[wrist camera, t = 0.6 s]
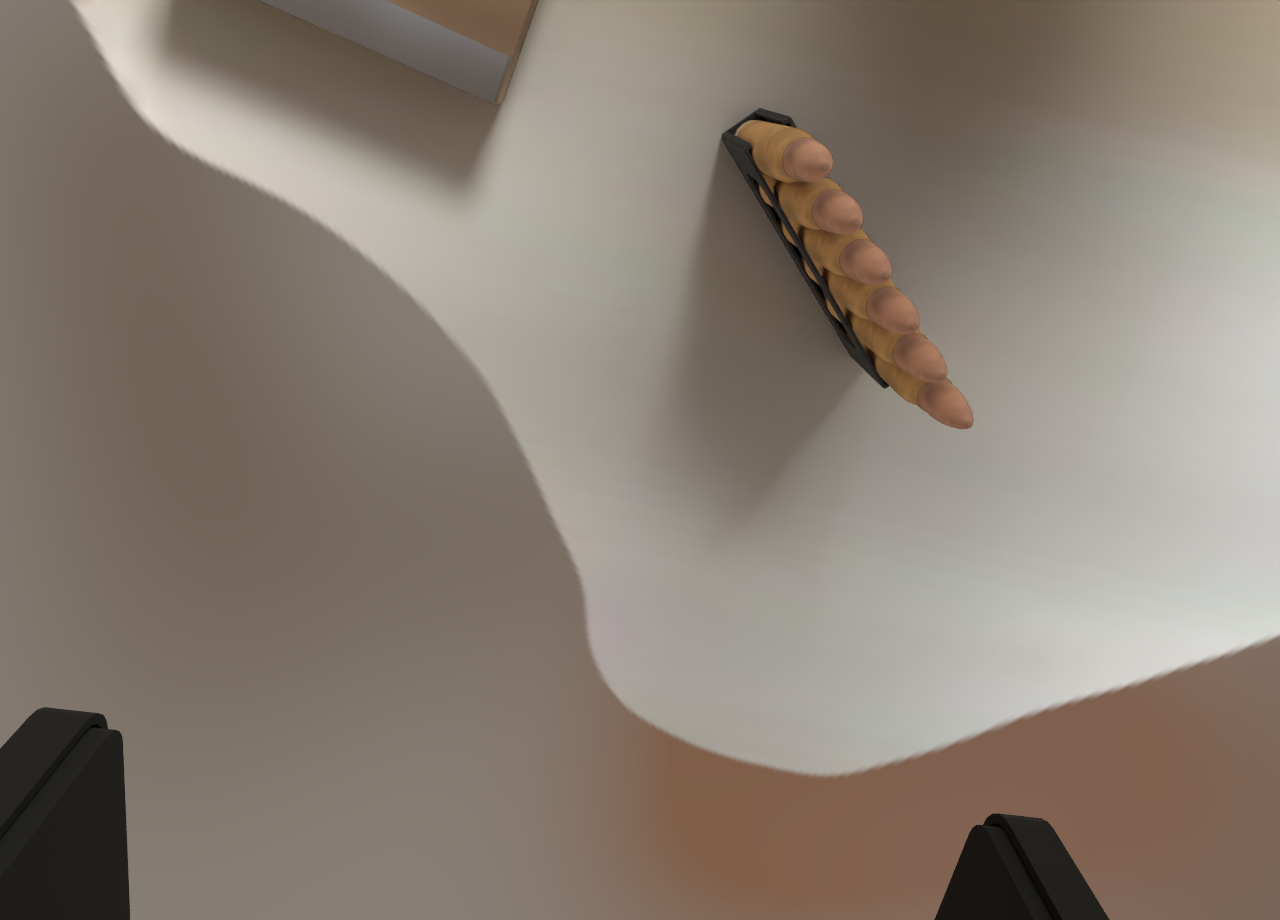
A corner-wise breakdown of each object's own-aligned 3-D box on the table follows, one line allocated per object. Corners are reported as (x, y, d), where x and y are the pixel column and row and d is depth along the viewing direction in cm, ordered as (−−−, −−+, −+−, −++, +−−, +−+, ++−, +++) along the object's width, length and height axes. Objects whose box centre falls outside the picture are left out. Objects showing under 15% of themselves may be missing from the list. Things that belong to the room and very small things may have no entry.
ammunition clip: (719, 135, 35) (777, 155, 24) (760, 106, 35) (839, 114, 24) (851, 358, 39) (955, 465, 27) (890, 334, 38) (1011, 433, 27)
